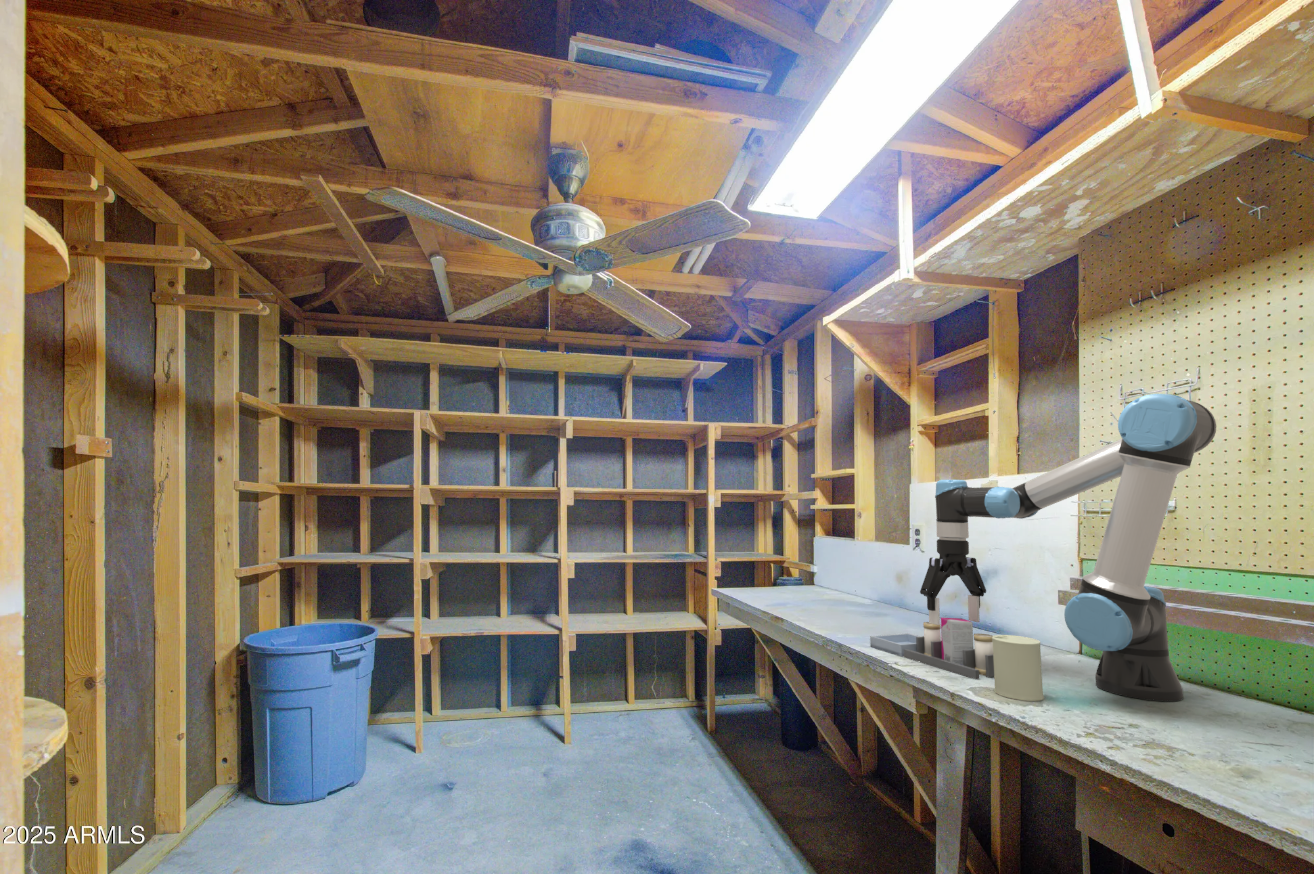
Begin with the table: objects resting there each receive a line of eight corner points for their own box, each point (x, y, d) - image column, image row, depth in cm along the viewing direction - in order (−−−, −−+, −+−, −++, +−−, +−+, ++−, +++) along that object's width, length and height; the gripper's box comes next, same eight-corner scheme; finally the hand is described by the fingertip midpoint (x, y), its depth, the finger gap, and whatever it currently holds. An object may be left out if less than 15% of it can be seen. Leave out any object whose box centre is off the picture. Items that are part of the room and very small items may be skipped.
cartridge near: (999, 674, 145) (997, 636, 146) (986, 676, 144) (984, 637, 145) (983, 670, 149) (982, 632, 150) (971, 671, 148) (969, 633, 149)
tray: (940, 652, 167) (940, 641, 168) (901, 656, 162) (901, 644, 163) (908, 643, 179) (908, 633, 179) (870, 646, 173) (870, 636, 174)
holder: (1017, 674, 146) (1016, 652, 147) (975, 679, 141) (974, 657, 142) (942, 653, 167) (941, 634, 167) (904, 657, 162) (903, 637, 162)
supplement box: (975, 668, 151) (973, 621, 152) (951, 668, 151) (949, 620, 152) (964, 662, 157) (962, 617, 158) (941, 662, 157) (939, 616, 158)
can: (996, 685, 136) (993, 630, 137) (1045, 693, 131) (1041, 636, 132) (991, 695, 129) (988, 637, 130) (1042, 704, 123) (1039, 643, 125)
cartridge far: (945, 659, 160) (944, 624, 161) (933, 660, 159) (932, 625, 160) (932, 655, 164) (931, 621, 165) (920, 656, 162) (919, 622, 163)
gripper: (975, 538, 166) (977, 617, 163) (904, 537, 157) (905, 621, 154) (999, 540, 159) (1002, 622, 156) (927, 539, 150) (928, 627, 147)
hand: (954, 622), depth 155 cm, fingers open, 13 cm apart
